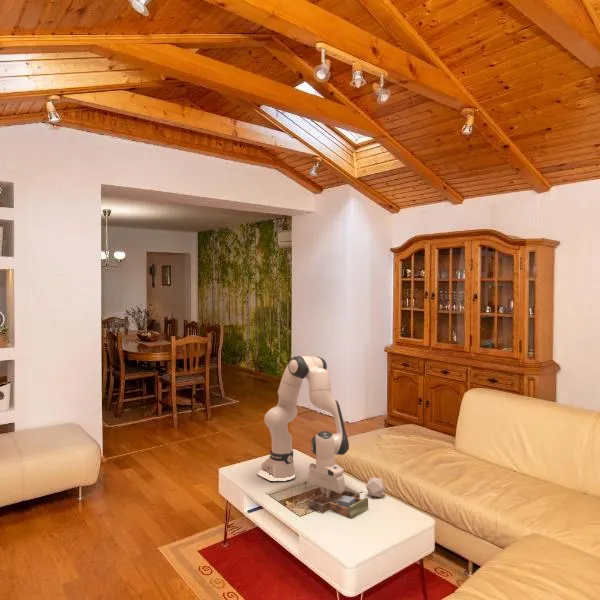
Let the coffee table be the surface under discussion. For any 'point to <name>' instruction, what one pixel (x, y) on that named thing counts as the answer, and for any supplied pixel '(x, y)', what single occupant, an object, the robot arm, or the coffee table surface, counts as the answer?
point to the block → (346, 501)
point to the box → (349, 512)
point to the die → (375, 487)
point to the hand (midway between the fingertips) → (325, 496)
